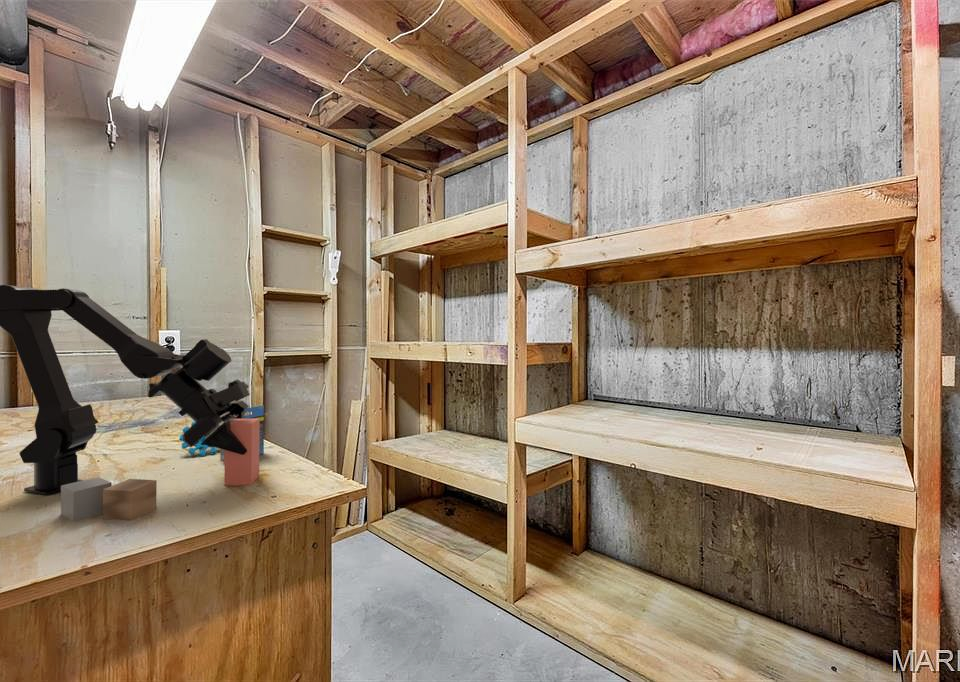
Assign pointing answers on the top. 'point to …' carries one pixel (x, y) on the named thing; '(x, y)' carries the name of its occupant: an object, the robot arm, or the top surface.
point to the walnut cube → (129, 499)
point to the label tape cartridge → (259, 413)
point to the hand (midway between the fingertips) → (249, 449)
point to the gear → (197, 445)
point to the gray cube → (83, 498)
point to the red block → (246, 465)
